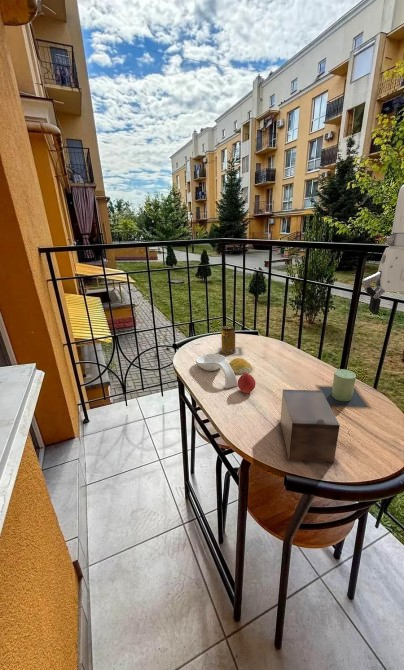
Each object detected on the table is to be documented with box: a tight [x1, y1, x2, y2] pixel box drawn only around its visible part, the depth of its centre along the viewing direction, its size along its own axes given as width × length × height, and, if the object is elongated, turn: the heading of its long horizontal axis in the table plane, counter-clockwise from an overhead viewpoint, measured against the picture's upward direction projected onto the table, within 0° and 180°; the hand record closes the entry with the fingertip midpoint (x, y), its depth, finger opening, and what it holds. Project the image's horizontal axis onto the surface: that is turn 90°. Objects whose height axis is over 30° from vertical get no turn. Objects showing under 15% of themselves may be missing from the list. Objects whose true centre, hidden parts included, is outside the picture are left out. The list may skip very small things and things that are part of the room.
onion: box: [237, 372, 256, 394], centre depth 92 cm, size 6×6×8 cm
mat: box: [319, 386, 368, 408], centre depth 89 cm, size 11×11×1 cm
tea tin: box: [331, 368, 357, 401], centre depth 87 cm, size 6×6×8 cm
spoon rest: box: [195, 353, 238, 389], centre depth 106 cm, size 24×12×7 cm, turn 24°
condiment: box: [221, 325, 236, 355], centre depth 123 cm, size 7×8×12 cm
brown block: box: [279, 389, 341, 464], centre depth 69 cm, size 10×14×11 cm
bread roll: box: [228, 357, 252, 375], centre depth 109 cm, size 8×9×4 cm
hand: (394, 312), depth 70 cm, fingers open, 9 cm apart
